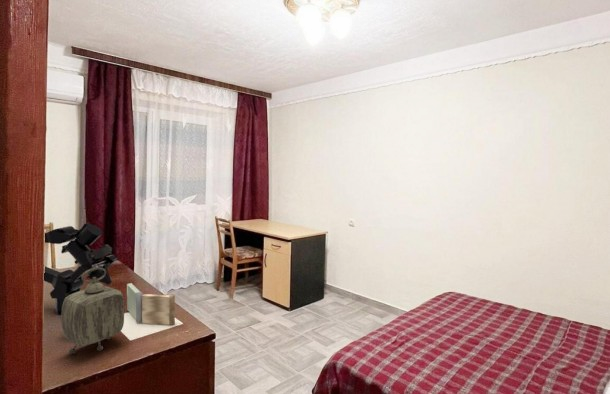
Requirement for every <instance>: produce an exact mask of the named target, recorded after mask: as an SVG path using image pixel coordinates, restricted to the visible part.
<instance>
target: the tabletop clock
mask: <svg viewBox="0 0 610 394" xmlns="http://www.w3.org/2000/svg"><path fill="white" fill-rule="evenodd" d="M99 269H100V270H103V271H104V272H105V274H104V275H103V276H102V277H100V278H98V279H96V277H93V278H92V279H91V280H86V279H85V278H84V277H85V275H88V272H90V271H93V270H99ZM105 275H106V270H105V269H104V268H100V267H96V268H92V269H89V270H87V271H86V272H85V273H84V274H83V275H82V280H83V283H87V285H86V287H85V289H82V290H80V291H79V292H76V293H73V294H71V295H69V296H67V297H66V298H65V299H64V302H63V305H62V314H60V315H61V316H60V317H61V318H60V320H61V331H62V334H63V336H64V338H65V340H67V341H70V342H71V343H73V344H74V346H73V348H70V349H69V351H68V354H70V355H73V354H75V353H76V351H77V348H78V346H79V347H85V346H89V345H92V344H95V343H97V345H98V346H97V347H96V350H97V351H98V352H102V351H103V349H104V346H103V345H101V341H103V340H105V339H106V340H111V339H112V336H114V335H116V334H119V333H120V332H121V330H122V328H123V324H124V313H125V300H124V296H123V293H122V292H121V290H119V289H116V288H113V287H109V286H106V285H104V283H102V282H100V281H99V280H101V279H103V278H104V277H105Z"/></svg>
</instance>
